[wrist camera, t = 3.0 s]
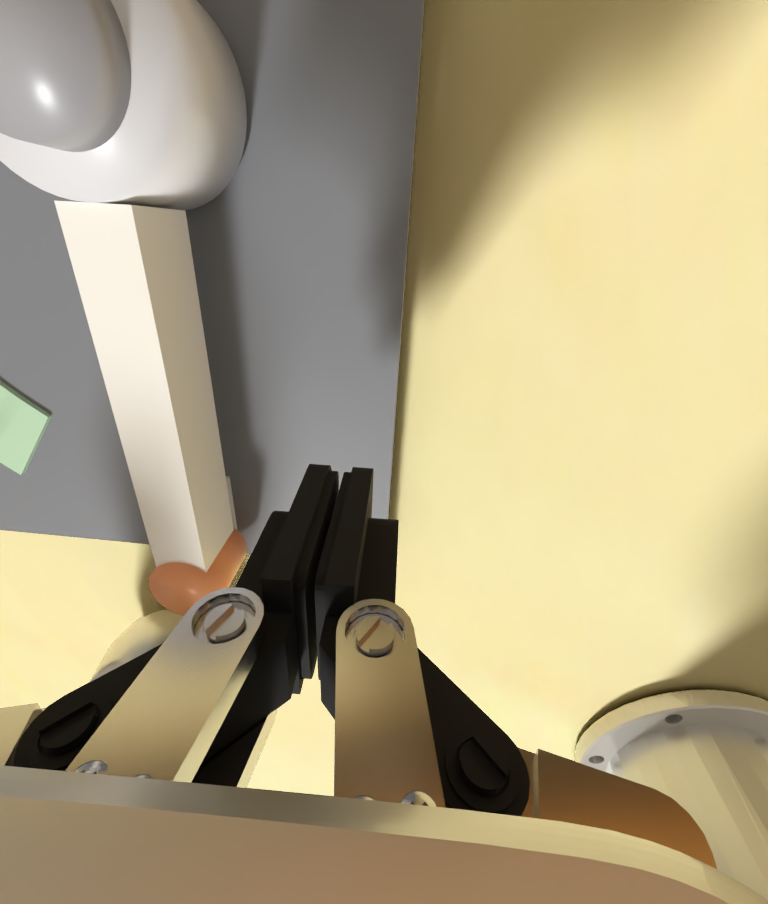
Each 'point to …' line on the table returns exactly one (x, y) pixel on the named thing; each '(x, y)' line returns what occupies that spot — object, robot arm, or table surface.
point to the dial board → (241, 284)
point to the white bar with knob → (138, 237)
